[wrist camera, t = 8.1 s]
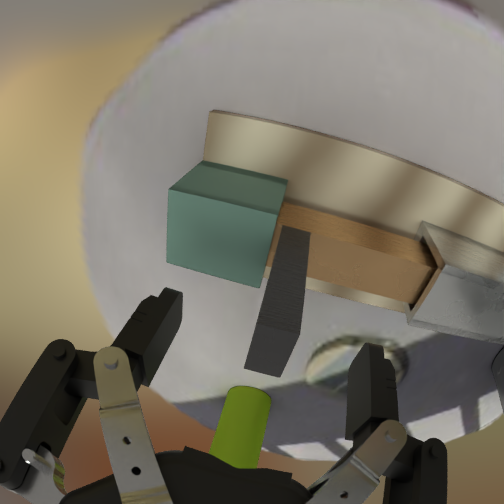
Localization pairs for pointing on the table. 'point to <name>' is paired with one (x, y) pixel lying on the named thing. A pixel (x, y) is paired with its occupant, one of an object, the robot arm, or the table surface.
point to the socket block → (223, 221)
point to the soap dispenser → (241, 427)
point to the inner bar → (329, 274)
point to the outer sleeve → (461, 287)
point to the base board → (352, 186)
